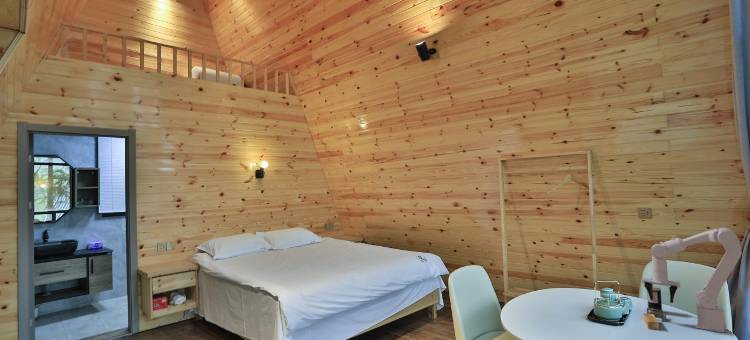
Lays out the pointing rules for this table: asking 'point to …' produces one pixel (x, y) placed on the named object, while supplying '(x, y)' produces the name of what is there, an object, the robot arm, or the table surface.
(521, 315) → the table surface
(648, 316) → the orange brown rectangular block
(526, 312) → the table surface
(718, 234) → the robot arm
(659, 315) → the dispenser
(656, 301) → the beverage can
